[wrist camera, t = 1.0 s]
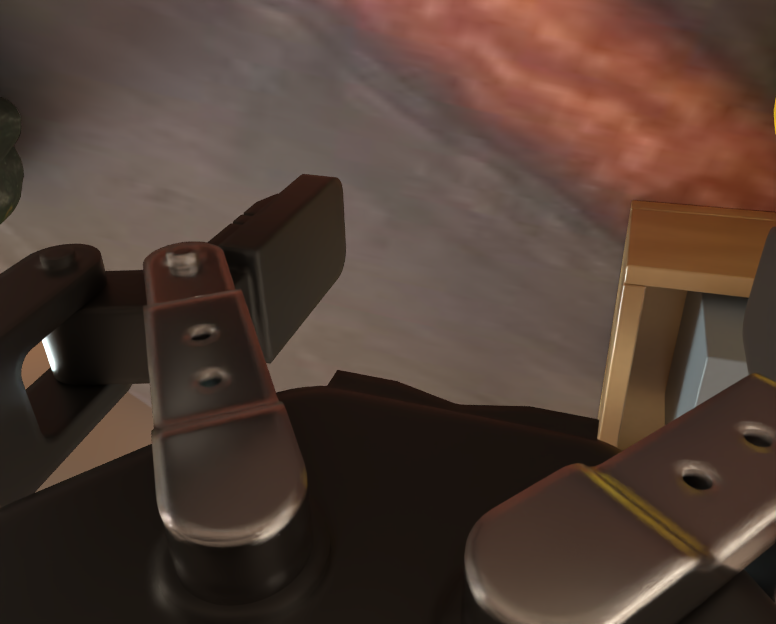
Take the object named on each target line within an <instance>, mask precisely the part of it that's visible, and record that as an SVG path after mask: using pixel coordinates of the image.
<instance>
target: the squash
mask: <svg viewBox="0 0 776 624" xmlns="http://www.w3.org/2000/svg"><path fill="white" fill-rule="evenodd" d="M20 132H21V116H20V114H19V112H18V110H17V108H16V107H15V106H14V105H13V104H12V103H10V102H9V101H8V100H6V99H4V98H2V97H0V224H1V223H2V222H3V221H4V220H5V219H6V218H7V217H8V216H9V215H10V214H11V213H12V212H13V211H14V209H15V208H16V206H17V204H18V202H19V200H20V197H21V190H22V182H23V177H24V172H23V166H22V163H21V159H20V157H19V155H18V153H17V151H16V150H15V148H14V147H13V146H14V144H15V143H16V141H17V139H18V138H19V136H20Z"/></svg>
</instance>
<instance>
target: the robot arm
mask: <svg viewBox="0 0 776 624" xmlns="http://www.w3.org/2000/svg"><path fill="white" fill-rule="evenodd" d="M345 256H346V241H345V222H344V202H343V189H342V184H341V182H340V180H339V179H338V178H336V177H327V176H318V175H309V174H302V175H300V176H299V177H298V178H297V179H296V180H295V181H293V182H292V183H291V184H290V185H289V186H287V187H286V188H285V189H284V190H283V191H282V192H280V193H279V194H275V195H273V196H270V197H268V198H265V199H263V200H261V201H258V202H256V203H255V204H254V205H253V206H251V207H250V208H249V209H248V210H246V211H245V212H244V215H240V216H239V217H238V218H237V219H235V220H234V221H233V224H229V225H228V226H227V227H226V228H225V229H223V230H222V231H221V232H220V233H218V234H217V235H216V236H215V237H214V238H212V239H211V240H210V241H209V242H208V243H206V242H181V243H176V244H171V245H168V246H165V247H162V248H160V249H157V250H155V251H154V252H152V253H151V254H149V255H148V256H147V257H146V258H145V260H144V262H143V270H129V271H105V268H104V264H103V260H102V256H101V253H100V251H99V250H98V249H97V248H95V247H93V246H90V245H85V244H64V245H57V246H53V247H49V248H45V249H42V250H39V251H37V252H35V253H32V254H30V255H29V256H27V257H25V258H24V259H22V260H21V261H19V262H18V263H16V264H15V265H13V266H12V267H10V268H9V269H7V270H6V271H4V272H3V273H1V274H0V624H776V226H773V227H772V228H771V230H770V231H769V234H768V236H767V239H766V242H765V245H764V248H763V252H762V255H761V258H760V262H759V265H758V268H757V272H756V275H755V278H754V282H753V285H752V289H751V292H750V295H749V299H748V302H747V306H746V310H745V315H744V321H743V333H742V335H743V344H744V350H745V356H746V362H747V368H748V374H749V375H748V376H746V377H744V378H743V379H741V380H739V381H738V382H736V383H734V384H733V385H731V386H729V387H728V388H726V389H724V390H723V391H721V392H719V393H718V394H716V395H714V396H713V397H711V398H709V399H708V400H706V401H704V402H703V403H701V404H700V405H698V406H696V407H695V408H693V409H691V410H690V411H688V412H686V413H685V414H683V415H681V416H680V417H678V418H676V419H675V420H673V421H671V422H670V423H668V424H666V425H665V426H663V427H661V428H660V429H658V430H656V431H655V432H653V433H651V434H650V435H648V436H646V437H645V438H643V439H642V440H640V441H638V442H637V443H635V444H633V445H632V446H630V447H628V448H627V449H625V450H621V449H619V448H617V447H615V446H613V445H611V444H609V443H606V442H604V441H601V440H599V439H597V436H598V427H599V419H593V418H588V417H583V416H577V415H572V414H567V413H562V412H556V411H551V410H546V409H541V408H535V407H530V406H491V405H461V404H455V403H452V402H449V401H447V400H444V399H442V398H439V397H436V396H434V395H431V394H429V393H426V392H423V391H421V390H418V389H416V388H413V387H411V386H408V385H405V384H403V383H400V382H398V381H393V380H388V379H383V378H377V377H372V376H367V375H361V374H356V373H351V372H346V371H340V370H337V372H336V373H335V375H334V376H333V378H332V379H331V381H330V382H329V384H328V385H327V386H312V387H302V388H295V389H290V390H285V391H281V392H277V393H276V391H275V388H274V385H273V382H272V379H271V376H270V373H269V370H268V367H267V365H266V363H271V362H272V361H273V360H274V358H275V357H276V356H277V355H278V353H279V352H280V351H281V350H282V348H283V347H284V346H285V345H286V343H287V342H288V341H289V339H290V338H291V337H292V336H293V334H294V333H295V332H296V331H297V329H298V328H299V327H300V326H301V324H302V323H303V322H304V321H305V319H306V318H307V317H308V316H309V314H310V313H311V312H312V310H313V309H314V308H315V307H316V305H317V304H318V303H319V302H320V300H321V299H322V298H323V297H324V295H325V294H326V293H327V292H328V290H329V289H330V288H331V287H332V285H333V284H334V283H335V282H336V280H337V279H338V278H339V276H340V274H341V272H342V270H343V266H344V262H345ZM40 341H42V342H43V345H44V348H45V351H46V354H47V357H48V360H49V363H50V366H51V368H49V369H48V370H47V371H46V372H45V373H44V374H43V375H42V376H41V377H39V378H38V379H37V380H36V381H35V382H34V383H33V384H32V385H30V386H29V387H28V388H27V389H26V390H25V387H24V384H23V381H22V377H21V368H22V364H23V361H24V358H25V356H26V355H27V354H28V352H29V351H30V350H31V349H32V348H33V347H35V346H36V345H37V344H38V343H39V342H40ZM141 383H150V391H151V402H152V413H153V424H154V429H153V430H152V433H151V435H152V436H151V438H152V444H150V445H148V446H146V447H143V448H141V449H138V450H136V451H133V452H131V453H129V454H126V455H124V456H122V457H119V458H117V459H114V460H112V461H110V462H107V463H105V464H102V465H100V466H98V467H95V468H93V469H91V470H88V471H86V472H83V473H81V474H79V475H76V476H74V477H72V478H69V479H67V480H64V481H62V482H60V483H58V484H55V485H53V486H51V487H48V488H45V489H43V490H41V491H38V492H36V490H37V489H38V488H39V487H40V486H41V485H42V484H43V483H44V482H45V481H46V480H47V478H48V477H49V476H50V475H51V474H52V473H53V472H54V471H55V470H56V469H57V468H58V466H59V465H60V464H61V463H62V462H63V461H64V460H65V459H66V458H67V457H68V456H69V455H70V453H71V452H72V451H73V450H74V449H75V448H76V447H77V446H78V445H79V444H80V442H82V440H83V439H84V438H85V437H86V436H87V435H88V434H89V432H91V431H92V430H93V428H94V427H95V426H96V425H97V424H98V423H99V422H100V421H101V420H102V419H103V418H104V416H105V415H106V414H107V413H108V412H109V411H110V410H111V409H112V408H113V407H114V406H115V405H116V403H117V402H118V401H119V400H120V399H121V398H122V397H123V396H124V395H125V394H126V393H127V391H128V390H129V389H130V387H131V385H132V384H141ZM35 492H36V493H35Z"/></svg>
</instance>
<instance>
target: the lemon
mask: <svg viewBox="0 0 776 624" xmlns="http://www.w3.org/2000/svg"><path fill="white" fill-rule="evenodd" d="M774 124H775V133H776V100H775V107H774Z"/></svg>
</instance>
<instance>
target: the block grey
mask: <svg viewBox="0 0 776 624" xmlns="http://www.w3.org/2000/svg"><path fill="white" fill-rule="evenodd" d="M748 299H749V298H747V297H738V296H730V295H721V294H713V293H704V292H695V291H687V295H686V300H685V304H684V309H683V313H682V318H681V322H680V327H679V332H678V336H677V341H676V345H675V350H674V354H673V359H672V363H671V368H670V373H669V377H668V382H667V386H666V391H665V425H666V424H668V423H670V422H671V421H673V420H675V419H676V418H678V417H680V416H681V415H683V414H685V413H686V412H688V411H690V410H691V409H693V408H695V407H696V406H698V405H700V404H701V403H703V402H704V401H706V400H708V399H709V398H711V397H713V396H714V395H716V394H718V393H719V392H721V391H723V390H724V389H726V388H728V387H729V386H731V385H733V384H734V383H736V382H738V381H739V380H741V379H743V378H744V377H746V376H748V375H749V374H748V368H747V362H746V356H745V350H744V344H743V335H742V333H743V321H744V315H745V310H746V306H747V302H748Z"/></svg>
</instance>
